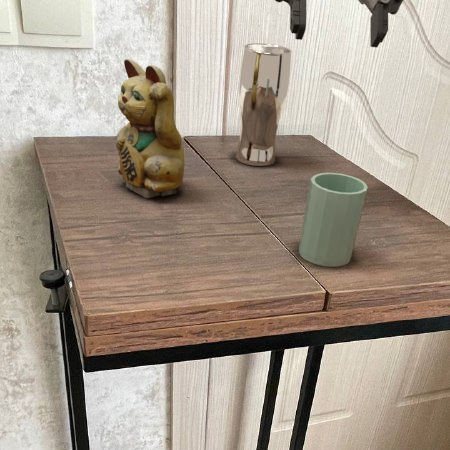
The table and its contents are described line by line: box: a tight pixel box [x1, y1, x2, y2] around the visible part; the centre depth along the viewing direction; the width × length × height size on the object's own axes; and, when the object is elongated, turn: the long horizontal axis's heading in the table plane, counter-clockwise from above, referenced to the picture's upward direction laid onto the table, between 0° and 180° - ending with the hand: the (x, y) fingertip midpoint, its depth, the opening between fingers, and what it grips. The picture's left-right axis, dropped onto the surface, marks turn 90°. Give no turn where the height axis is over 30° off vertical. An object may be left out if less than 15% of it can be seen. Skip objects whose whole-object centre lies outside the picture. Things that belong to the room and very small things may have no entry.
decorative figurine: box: [115, 58, 185, 199], centre depth 78 cm, size 10×8×15 cm
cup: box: [298, 172, 369, 268], centre depth 69 cm, size 6×6×8 cm
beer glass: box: [234, 42, 293, 167], centre depth 90 cm, size 7×7×15 cm
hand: (339, 38), depth 68 cm, fingers open, 8 cm apart
